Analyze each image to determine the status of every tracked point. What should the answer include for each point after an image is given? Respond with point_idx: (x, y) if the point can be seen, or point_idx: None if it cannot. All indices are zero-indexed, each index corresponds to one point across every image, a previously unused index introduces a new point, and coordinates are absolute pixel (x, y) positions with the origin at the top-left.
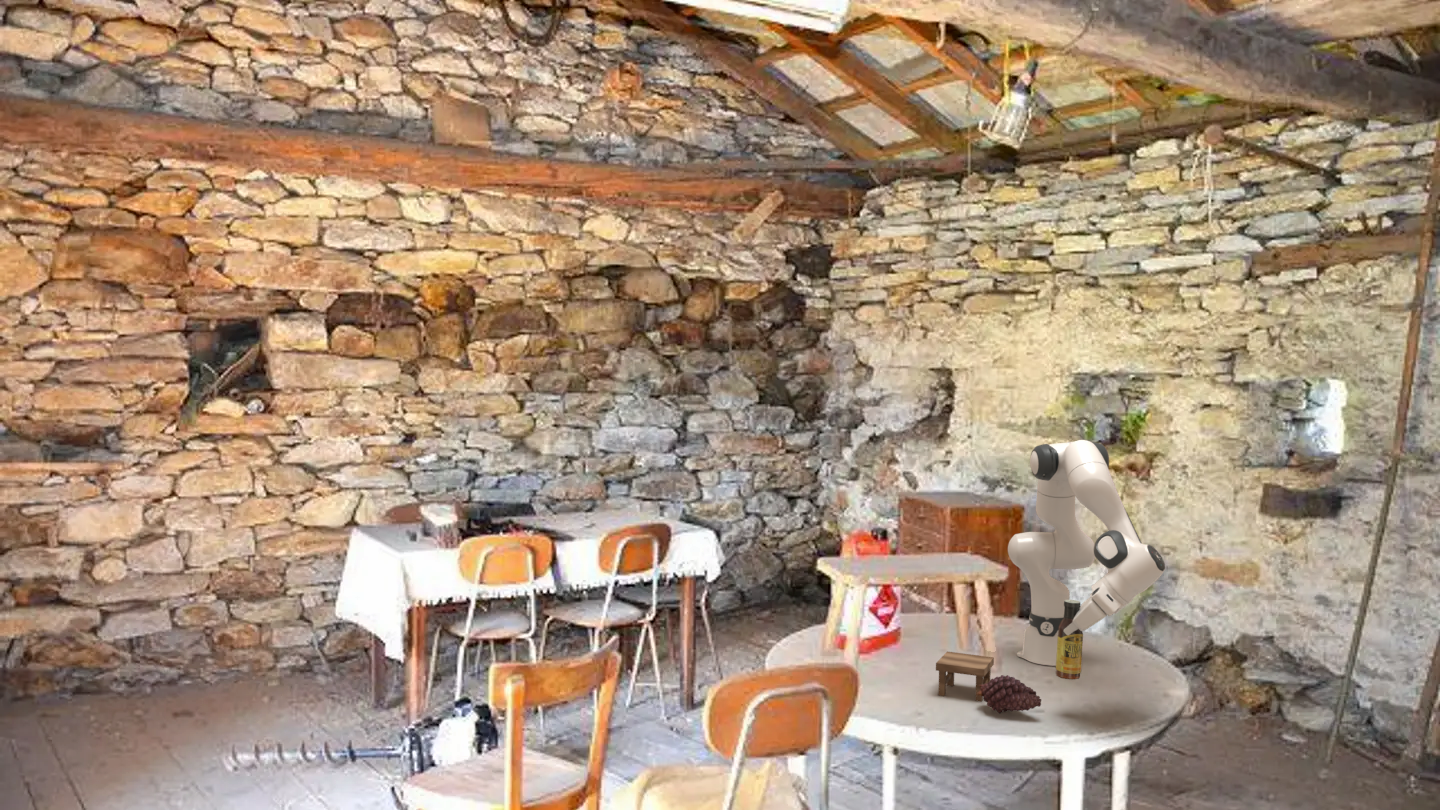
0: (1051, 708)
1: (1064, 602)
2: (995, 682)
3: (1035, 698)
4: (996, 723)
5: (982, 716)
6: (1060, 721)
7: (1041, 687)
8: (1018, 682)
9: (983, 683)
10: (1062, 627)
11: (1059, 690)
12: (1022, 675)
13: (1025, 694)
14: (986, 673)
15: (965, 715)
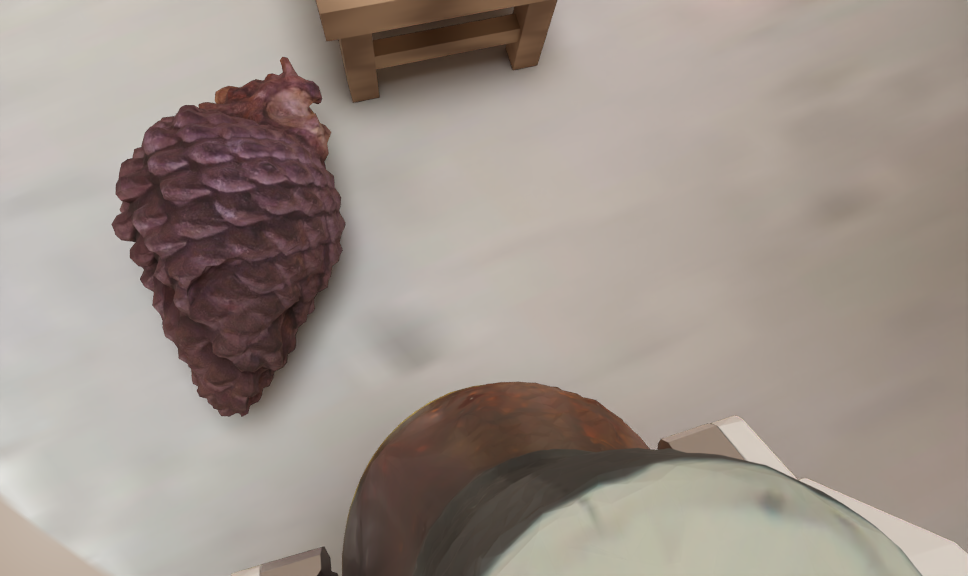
0: (482, 378)
1: (502, 527)
2: (144, 150)
3: (205, 390)
4: (94, 276)
5: None
6: (322, 497)
7: (735, 216)
8: (179, 268)
9: (427, 43)
10: (376, 490)
11: (757, 294)
12: (825, 88)
13: (178, 336)
14: (389, 28)
15: (120, 127)
